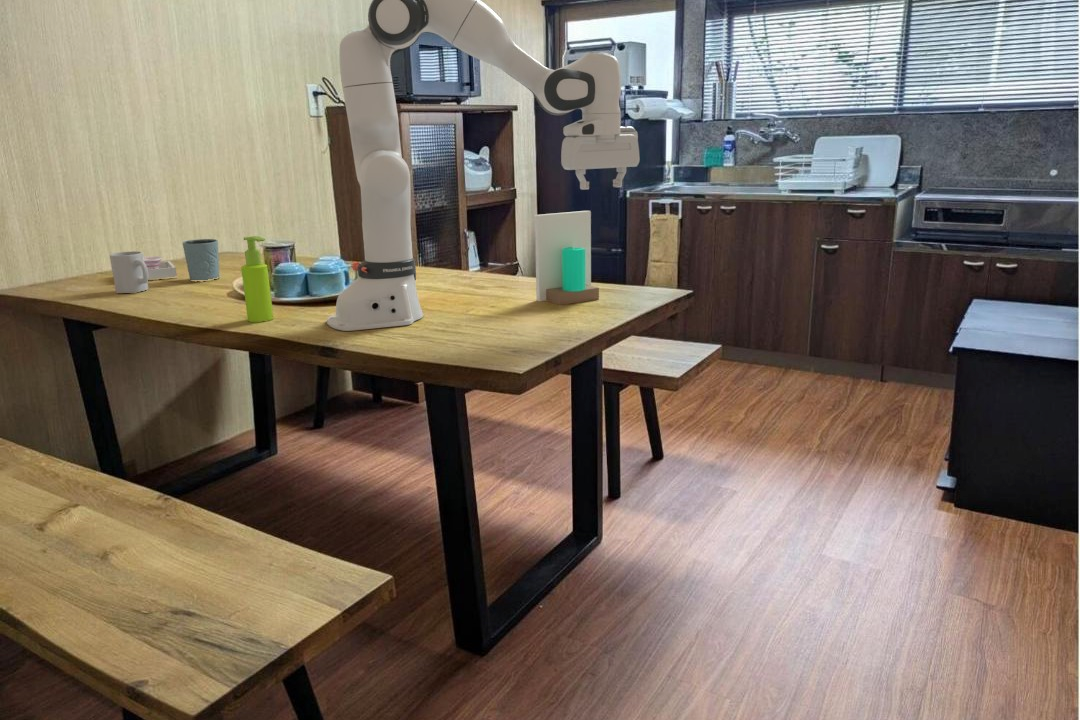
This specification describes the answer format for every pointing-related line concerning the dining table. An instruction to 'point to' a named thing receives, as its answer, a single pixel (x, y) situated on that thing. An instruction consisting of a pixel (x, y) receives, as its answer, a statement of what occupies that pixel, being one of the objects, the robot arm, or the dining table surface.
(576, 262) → the candle
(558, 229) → the tabletop board
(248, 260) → the soap dispenser
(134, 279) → the mug
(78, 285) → the dining table surface
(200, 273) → the blue embossed cup
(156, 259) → the teacup
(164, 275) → the tray
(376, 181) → the robot arm
